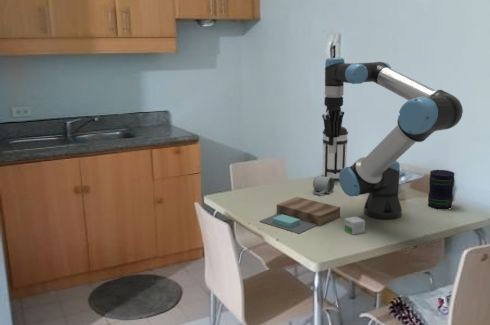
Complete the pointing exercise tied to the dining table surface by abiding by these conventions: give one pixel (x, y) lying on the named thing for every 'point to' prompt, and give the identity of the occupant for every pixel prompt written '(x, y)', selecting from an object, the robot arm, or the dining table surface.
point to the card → (286, 221)
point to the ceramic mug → (323, 185)
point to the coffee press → (335, 155)
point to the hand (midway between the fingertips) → (332, 152)
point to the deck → (309, 210)
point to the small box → (354, 225)
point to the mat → (297, 229)
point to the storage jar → (441, 189)
